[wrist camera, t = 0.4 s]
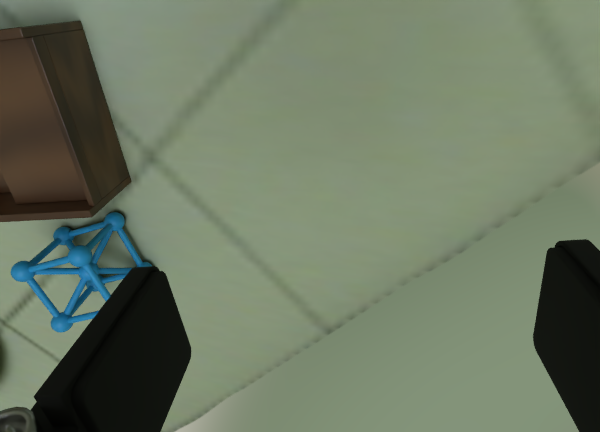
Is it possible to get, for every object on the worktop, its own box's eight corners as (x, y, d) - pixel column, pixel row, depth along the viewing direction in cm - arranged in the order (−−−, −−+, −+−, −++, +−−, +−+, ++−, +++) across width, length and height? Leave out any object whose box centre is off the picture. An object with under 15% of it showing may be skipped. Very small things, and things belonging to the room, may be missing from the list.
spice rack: (-60, 37, 44) (-148, 47, 36) (80, 20, 42) (19, 27, 34) (11, 189, 52) (-49, 224, 44) (131, 181, 50) (91, 217, 42)
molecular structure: (122, 206, 52) (77, 250, 43) (159, 270, 56) (125, 322, 47) (56, 225, 54) (1, 271, 45) (97, 285, 58) (53, 338, 50)
